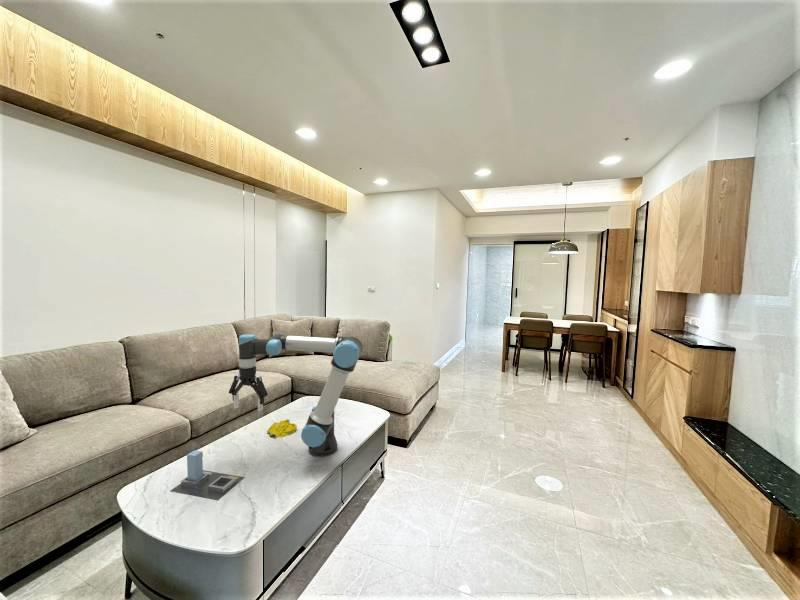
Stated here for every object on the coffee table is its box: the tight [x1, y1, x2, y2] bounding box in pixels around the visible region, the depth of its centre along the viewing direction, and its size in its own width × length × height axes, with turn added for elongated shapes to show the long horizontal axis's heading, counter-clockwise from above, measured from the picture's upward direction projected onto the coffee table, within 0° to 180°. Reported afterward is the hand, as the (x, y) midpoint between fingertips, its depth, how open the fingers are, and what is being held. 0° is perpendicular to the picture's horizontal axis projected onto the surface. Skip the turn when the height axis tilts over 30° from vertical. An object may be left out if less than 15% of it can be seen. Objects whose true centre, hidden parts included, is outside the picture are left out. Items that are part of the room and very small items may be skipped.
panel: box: [170, 469, 246, 501], centre depth 143 cm, size 24×16×3 cm, turn 77°
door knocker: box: [266, 418, 297, 439], centre depth 196 cm, size 16×16×4 cm
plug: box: [186, 449, 204, 482], centre depth 144 cm, size 4×5×13 cm
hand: (248, 409), depth 161 cm, fingers open, 13 cm apart
